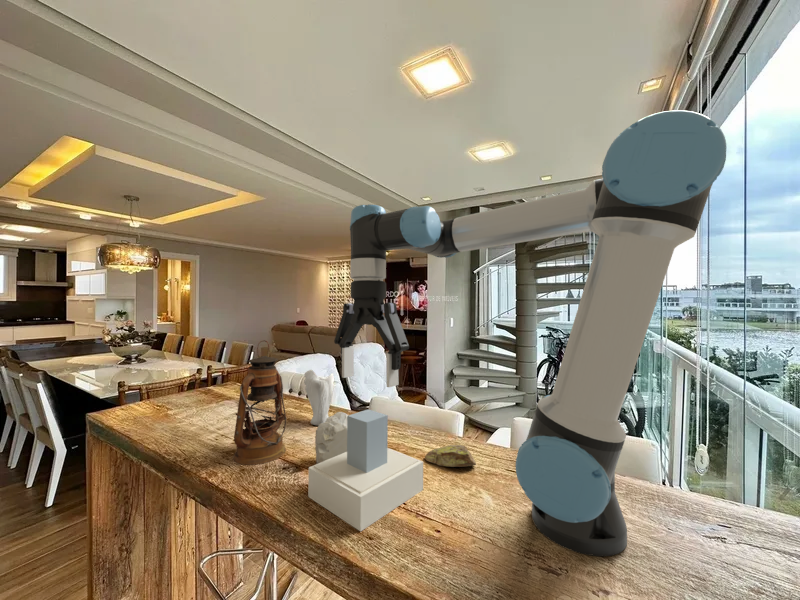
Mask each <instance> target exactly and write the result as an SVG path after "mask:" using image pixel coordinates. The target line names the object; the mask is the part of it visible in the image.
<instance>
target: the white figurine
mask: <svg viewBox="0 0 800 600" xmlns="http://www.w3.org/2000/svg"><path fill="white" fill-rule="evenodd" d="M334 376H335V375H334V372H332V373H330V374H329V375H328V376H327V377H326V376H325V377H319V376H318V375H317V374H316V373H315V370H312V369H309V370H306V372H304V378H305V379H304V381H303V383H304V385H305V386H304V388H305V392H306V395H307V398H308V401H309V404H310V406H311V410H312V417H311V420H310V424H311V425H314V426H318V425H319V424H321V423H325V421H326V419H327V418H328V417H330V415H329V409H330V406H331V401H332V396H333V390H334V387H335V386H334V385H335V384H334V383H335V378H334Z"/></svg>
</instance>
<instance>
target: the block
mask: <svg viewBox="0 0 800 600" xmlns="http://www.w3.org/2000/svg"><path fill="white" fill-rule="evenodd" d="M347 415H348V416H347V464H349V465H351V466H353V467H355V468H357V469H359V470H361V471H363V472H365V473H368V472H370V471H372V470H374V469H376V468H378V467H380V466H382V465H384V464H386V463H387V448H388V442H389V441H388V439H389V438H388V432H389V429H388V425H389V424H388V423H389V422H388V421H389V420H388V417H389V415H387V414H386V413H385V414H384V413H381V412H379V411H378V412H377V411H376V410H372V409H364V410H361V411H359V412H355V413H352V414H347Z"/></svg>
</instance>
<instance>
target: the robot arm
mask: <svg viewBox="0 0 800 600" xmlns="http://www.w3.org/2000/svg"><path fill="white" fill-rule="evenodd" d="M726 161H727V140H726V136H725V134H724V132H723V130H722V129H721V127H720V126H718V125H717V123H716V122H715V121H713V120H712V119H711V118H710V117H708V116H706V115H704V114H702V113H698V112H695V111H690V110H682V109H681V110H679V109H678V110H677V109H675V110H666V111H660V112H657V113H653V114H650V115H647V116H645V117H643V118H641V119H639V120H637V121H636V122H634V123H632V124H631V125H630V126H628V127H626V128H625V129H624V130H622V132H620V133H619V135H618V136H616V138H614V140H613V142H612V143H611V144H610V145H609V148H608V149H607V152H606V154H605V157H604V158H603V162H602V166H601V170H602V171H601V176H602V178H599V179H594V180H592V182H591V183H590V184H589V185H588V186H587V187H586V188H582V189H577V190H572V191H569V192H565V193H561V194H560V193H559V194H555V195H551V196H547V197H543V198H538V199H533V200H529V201H525V202H521V203H520V202H519V203H515V204H512V205H507V206H503V207H498V208H493V209H490V210H485V211H481V212H475V213H471V214H466V215H463V216H459V217H455V218H450V219H445V220H440V219H441V218H440V216H439V215H438V213H437V212H436V210H435V208H434V207H432V206H430V205H424V206H412V207H409V208H404V209H399V210H397V211H396V210H395V211H390V212H386V209H385V208H384V207H383V206H380V205H378V204H360V205H356V206H355V207H353V208H352V210H351V214H350V224H349V231H350V235H349V237H350V266H349V267H350V272H349V273H350V276H349V277H350V278H351V280H353V281H351V282H350V298H351V299H352V300H353V303H347V302H346V303H343V307H342V308H343V309H342V315H341V318H340V321H339V324H338V328H337V331H336V333H335V336H334V341H333V342H334V344H335V345H338V346H339V348H340V360H341V378H344V379H345V378H350V377H354V376H355V374H354V372H355V371H354V370H355V367H354V366H355V365H354V357H355V356H354V354H355V353H354V350H355V348H354V345H353V342H354V341H355V339H356V337H357V335H358V333H359V332H360V331H361V328H362V327H364V325H368V326H370V325H371V326H373V327H374V328H375V329H376V331H377V333H378V334H379V336H380V337H381V339H382V341H383V343H384V344H385V346H386V348H387V349H388V351H387V352H386V355H385V356H386V375H385V376H386V378H385V379H386V381H385V382H386V388H391V387H396V386H399V370H401V367H402V366H401V365H402V362H401V359H402V357H401V355H402V352H405V351H408V350H409V349H410V345H409V342H408V339H407V337H406V334H405V331H404V328H403V325H402V323H401V321H400V317H399V316H398V310H397V308H398V306H397V304H396V303H395V302H384V301H385V299H386V298H387V282H386V281H384V280H385V279H387V269H386V268H387V251H389V252H390V251H395V250H396V251H397V250H411V251H416V252H419V253H424V254H428V255H431V256H433V257H436V258H444V259H445V258H452V257H453V256H456V255H457V254H459V253H464V252H468V251H469V252H470V251H475V250H481V249H482V250H483V249H489V248H494V247H500V246H501V247H502V246H507V245H513V244H519V243H525V242H532V241H538V240H544V239H550V238H558V237H563V236H571V235H574V234H575V235H576V234H583V233H589V232H591V233H594V234H595V235H597V237H598V241H597V244H596V247H595V251H594V254H593V258H592V261H591V265H590V267H589V271H588V274H587V276H586V281H585V284H584V288H583V291H582V294H581V297H580V300H579V304H578V308H577V311H576V313H575V317H574V321H573V323H572V327H571V331H570V334H569V337H568V340H567V343H566V347H565V350H564V354H563V357H562V359H561V360H562V361H561V363H560V367H559V370H558V373H557V376H556V377H557V378H556V380H555V382H554V385H553V386H554V387H553V390H552V393H551V394H547V395H545V396H544V397H543V398H540V399H539V400H538V402H537V405H536V408H535V411H534V415H533V417H532V421H531V424H530V428H529V430H528V434H527V436H526V439H525V441H524V442H522V443H521V446H520V447H519V448H518V451H517V454H516V459H515V473H516V477H517V481H518V484H519V485H520V486H521V489H522V490H523V492H524V494H525V495H526V497H527V498H528V499H529V500H530V502H531V518H532V522H533V524H534V525H535V527H536V529H537V530H538V531H539V532H540V533H542V535H544V537H546V538H547V539H549V540H550V541H551V542H553V543H555V544H557V545H559V546H560V547H563V548H565V549H567V550H569V551H572V552H575V553H578V554H582V555H588V556H592V557H593V556H594V557H611V556H615V555H618V554H620V553H622V552H623V551H624V550H625V549H626V548H627V545H628V528H627V527H628V526H627V524H626V521H625V517H624V515H623V512H622V509H621V506H620V503H619V501H618V500H619V499H618V497H617V494H616V488H615V487H616V485H615V483H616V479H615V478H616V477H615V476H616V475H615V474H616V469H617V465H618V461H619V459H620V456H621V454H622V450H623V446H624V444H625V441H626V439H627V433H626V431H625V430H624V428H623V427H622V425H621V424H620V421H619V420H618V419H619V416H620V413H621V410H622V406H623V404H624V400H625V399H626V395H627V392H628V389H629V386H630V383H631V379H632V378H633V374H634V371H635V368H636V365H637V362H638V358H639V355H640V353H641V350H642V347H643V344H644V341H645V338H646V334H647V332H648V329H649V327H650V323H651V320H652V317H653V314H654V312H655V308H656V306H657V302H658V300H659V299H658V298H659V295H660V294H661V289H662V287H663V284H664V282H665V278H666V276H667V272H668V269H669V266H670V262H671V261H672V257H673V254H674V251H675V249H676V248H677V247H678V246H680V245H682V244H683V243H685V242H687V241H689V240H691V239H692V238H694V237H695V235H696V233H697V229H698V227H699V223H700V221H701V219H702V215H703V212H704V209H705V206H706V203H707V202H708V201H707V200H708V198H709V195H710V193H711V190H712V186H713V183H714V182H715V181H716V180H717V178H718V177H719V176H720V175H721V173H722V172H723V169H724V166H725V164H726Z"/></svg>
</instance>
